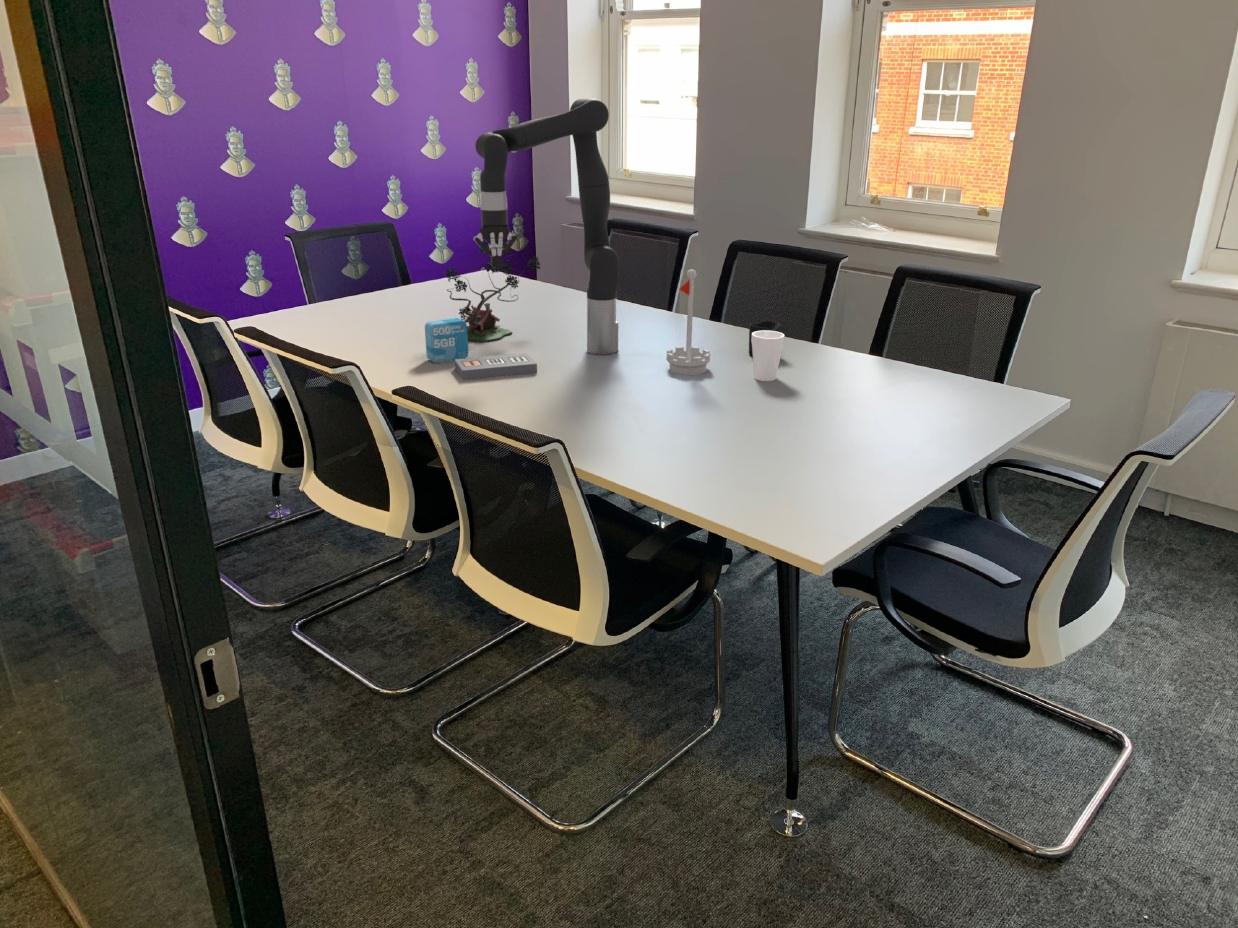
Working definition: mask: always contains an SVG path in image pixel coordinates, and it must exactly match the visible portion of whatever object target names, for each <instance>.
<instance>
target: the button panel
mask: <svg viewBox="0 0 1238 928" xmlns="http://www.w3.org/2000/svg"><path fill="white" fill-rule="evenodd" d="M515 357H525V358H526V359H527V360H528V361H523V362H511V361H510V360H509V358H515ZM492 359H502V360H503V361H504V362H505V363H501V364H490V365H489V364H488V363H487V362H486V360H492ZM470 361H479V363H480V364H481V365H479V366H468V367H465V366H464V365H463V362H470ZM454 370H455V371H456V373H457V374H458V375H459V377H460V379H461V380H462V381H470V380H471V381H472V380H483V379H484V380H485V379H493V378H494V379H495V378H503V377H504V378H505V377H514V376H515V377H516V376H523V375H524V376H525V375H535V374H538V364H537V362H536V361H535V360H534V359H533V358H532V357H531V356H530V355H529V354H528V353H527V352H524V353H510V354H499V355H498V354H497V355H489V356H478V357H466V358H463V359H454Z"/></svg>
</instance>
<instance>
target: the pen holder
mask: <svg viewBox="0 0 1238 928" xmlns="http://www.w3.org/2000/svg"><path fill="white" fill-rule="evenodd" d="M780 326H781V323H779V322H776V321H772V320H762V321H759V322H757V323H753V322H749V326H748V327H749V330H748V355H749V356H750V357H752V356H753V352H752V343H751V338H752V333H753V332H755V331H762V330H769V331H777V332H780Z"/></svg>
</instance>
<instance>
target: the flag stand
mask: <svg viewBox="0 0 1238 928" xmlns="http://www.w3.org/2000/svg"><path fill="white" fill-rule="evenodd" d="M697 276H698V274H697V271H696V270H695V269H692V268H691V269H689V270H687V272H686V277H687V279H688V281H686V282H685V283H684V284H683V285H682V286H681V287H680V288H679V289H678V290H679V291H680V292H683V293H684V294H686V295H688V296H687V319H686V345H685V346H676V347H675V350H673V348H669V349H667V350H666V361H667V362H668V363H669V371H670V372H672V373H673V374H679V375H685V376H686V375H687V376H693V375H694V376H695V375H701V374H704V373H705V372H706V371H707V365H708V364H709V363H710V361H711V353H710V350H709V349H702V351H701V350H700V347H697V346H692V338H693V337H692V335H693V315H694V311H693V309H694V292H695V291H694V290H695V287H694V286H695V279H696V278H697ZM684 347H685V348H684Z"/></svg>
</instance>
